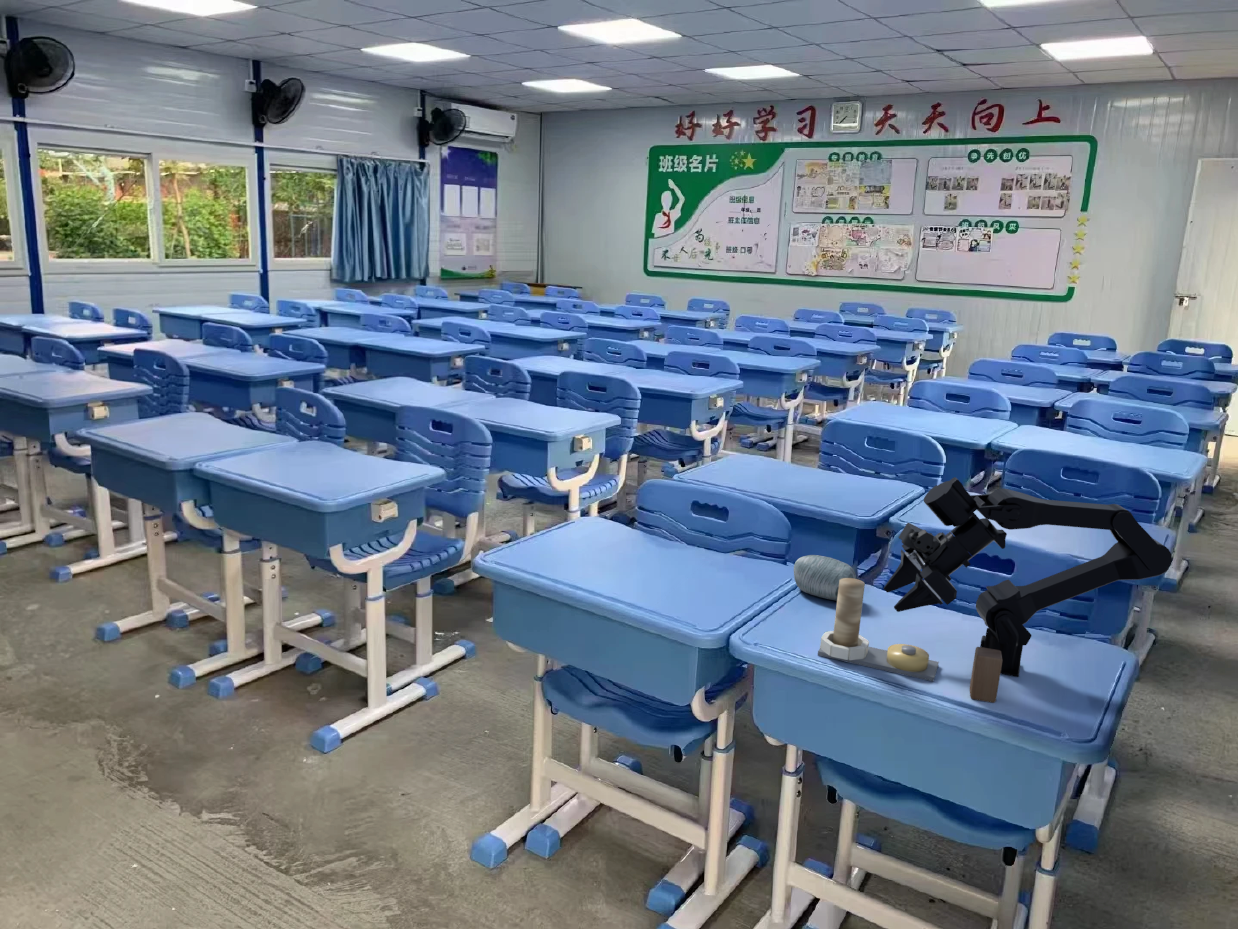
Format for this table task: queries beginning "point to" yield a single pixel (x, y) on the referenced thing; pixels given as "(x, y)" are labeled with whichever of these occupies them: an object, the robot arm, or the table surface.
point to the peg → (848, 612)
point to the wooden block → (985, 674)
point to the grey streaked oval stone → (821, 575)
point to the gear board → (882, 657)
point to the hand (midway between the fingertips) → (890, 599)
